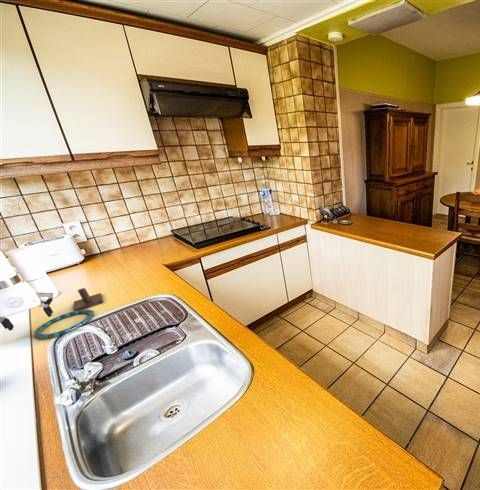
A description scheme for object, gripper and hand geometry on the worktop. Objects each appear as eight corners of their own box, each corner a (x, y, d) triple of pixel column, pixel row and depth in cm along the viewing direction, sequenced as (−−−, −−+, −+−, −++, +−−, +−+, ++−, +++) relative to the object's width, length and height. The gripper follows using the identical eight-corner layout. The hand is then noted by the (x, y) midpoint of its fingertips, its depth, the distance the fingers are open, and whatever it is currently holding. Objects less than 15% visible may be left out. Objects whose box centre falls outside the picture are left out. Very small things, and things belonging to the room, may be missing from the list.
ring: (33, 346, 96) (31, 342, 96) (37, 326, 107) (35, 323, 106) (95, 323, 107) (93, 319, 106) (93, 307, 118) (92, 304, 117)
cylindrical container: (57, 291, 132) (30, 245, 123) (58, 295, 128) (30, 249, 118) (36, 298, 127) (5, 251, 118) (36, 303, 123) (4, 254, 113)
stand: (75, 312, 115) (66, 297, 112) (75, 304, 121) (67, 290, 118) (103, 302, 121) (95, 288, 118) (101, 295, 127) (94, 282, 124)
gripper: (-41, 298, 85) (-7, 339, 92) (39, 276, 96) (64, 314, 103) (-35, 290, 90) (-3, 329, 97) (41, 270, 101) (64, 306, 108)
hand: (31, 321), depth 100 cm, fingers open, 9 cm apart
